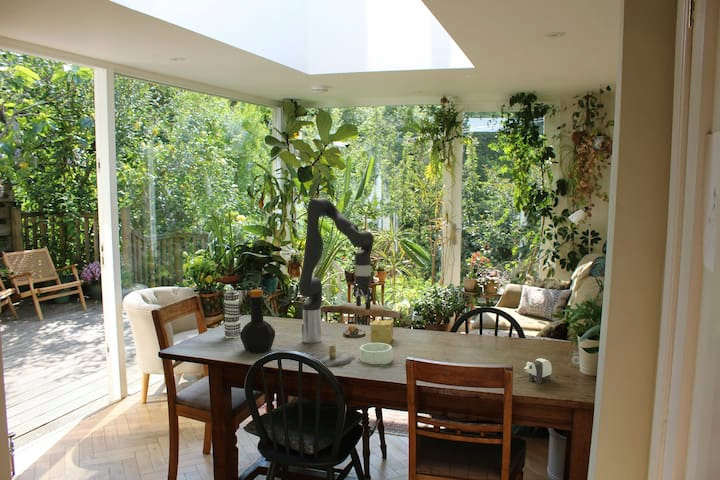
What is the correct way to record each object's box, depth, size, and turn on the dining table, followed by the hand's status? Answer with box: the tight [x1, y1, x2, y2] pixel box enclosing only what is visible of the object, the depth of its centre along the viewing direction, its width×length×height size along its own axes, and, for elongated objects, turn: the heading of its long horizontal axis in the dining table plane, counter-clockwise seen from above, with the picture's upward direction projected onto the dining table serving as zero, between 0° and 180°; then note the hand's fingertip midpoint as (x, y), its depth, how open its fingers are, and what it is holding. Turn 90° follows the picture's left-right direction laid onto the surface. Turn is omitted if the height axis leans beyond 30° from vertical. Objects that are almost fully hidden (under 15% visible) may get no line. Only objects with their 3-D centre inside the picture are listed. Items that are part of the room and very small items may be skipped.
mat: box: [332, 356, 356, 369], centre depth 262 cm, size 16×16×1 cm
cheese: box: [370, 319, 394, 345], centre depth 294 cm, size 10×11×10 cm
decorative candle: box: [222, 289, 242, 339], centre depth 306 cm, size 9×9×25 cm
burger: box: [342, 323, 366, 339], centre depth 307 cm, size 12×12×8 cm
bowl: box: [359, 342, 393, 365], centre depth 264 cm, size 15×15×6 cm
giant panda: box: [523, 357, 553, 385], centre depth 233 cm, size 15×6×10 cm, turn 125°
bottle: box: [239, 289, 276, 354], centre depth 282 cm, size 16×16×30 cm
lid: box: [314, 344, 352, 368], centre depth 262 cm, size 17×17×7 cm
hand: (363, 307), depth 269 cm, fingers open, 8 cm apart
